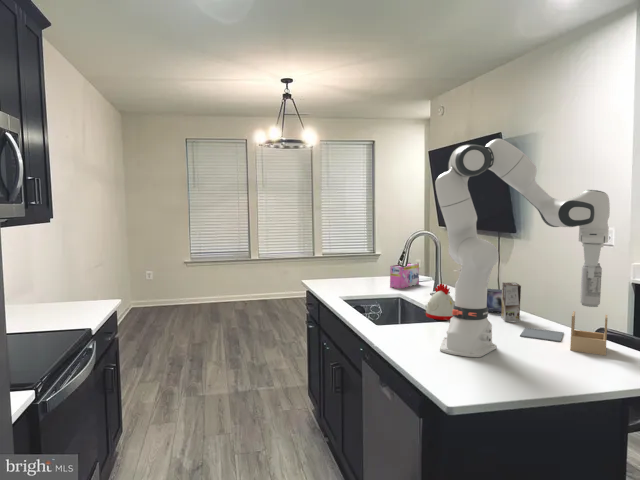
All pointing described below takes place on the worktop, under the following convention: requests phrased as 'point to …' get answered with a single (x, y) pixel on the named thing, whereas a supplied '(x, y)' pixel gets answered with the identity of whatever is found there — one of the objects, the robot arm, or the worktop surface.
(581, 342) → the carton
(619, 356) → the worktop surface
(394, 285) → the gum box
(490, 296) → the small box
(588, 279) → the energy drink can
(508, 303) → the coffee box
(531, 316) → the worktop surface
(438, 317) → the kitchen timer
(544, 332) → the mat
